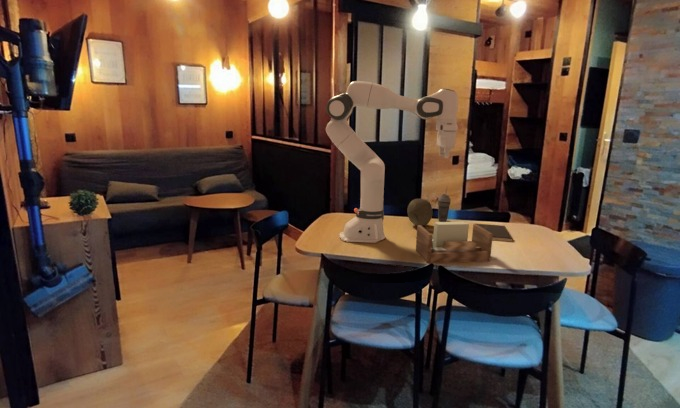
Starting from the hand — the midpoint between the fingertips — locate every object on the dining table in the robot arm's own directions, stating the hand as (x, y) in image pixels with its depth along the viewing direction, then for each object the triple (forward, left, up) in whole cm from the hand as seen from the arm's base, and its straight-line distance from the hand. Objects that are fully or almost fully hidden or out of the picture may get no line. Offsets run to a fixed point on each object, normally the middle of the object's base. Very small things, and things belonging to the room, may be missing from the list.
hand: (444, 157), depth 184 cm
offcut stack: (0, -22, -41) cm, 46 cm away
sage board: (0, -15, -41) cm, 44 cm away
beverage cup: (+18, +39, -41) cm, 59 cm away
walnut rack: (0, -17, -41) cm, 44 cm away
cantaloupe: (+1, +30, -41) cm, 51 cm away
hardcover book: (+35, +13, -42) cm, 56 cm away
